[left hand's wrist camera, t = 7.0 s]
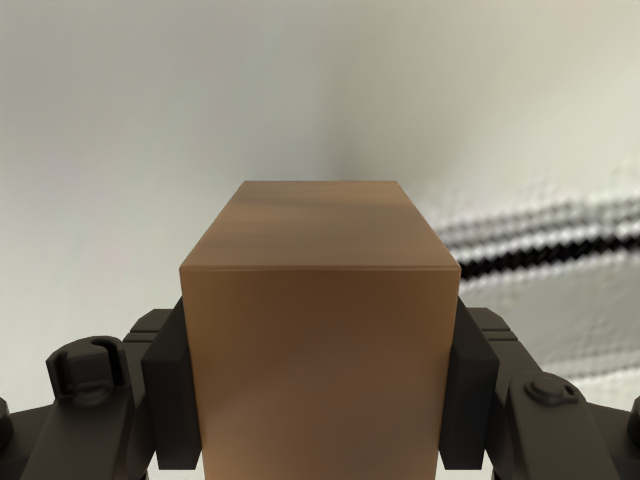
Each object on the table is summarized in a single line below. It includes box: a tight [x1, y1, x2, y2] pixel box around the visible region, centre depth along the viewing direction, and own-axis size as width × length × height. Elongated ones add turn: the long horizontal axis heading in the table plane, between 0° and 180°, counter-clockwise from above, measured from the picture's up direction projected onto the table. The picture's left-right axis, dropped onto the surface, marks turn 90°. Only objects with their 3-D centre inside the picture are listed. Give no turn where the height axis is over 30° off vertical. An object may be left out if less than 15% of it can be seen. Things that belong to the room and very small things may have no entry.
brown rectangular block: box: [179, 181, 461, 480], centre depth 12 cm, size 5×6×7 cm
